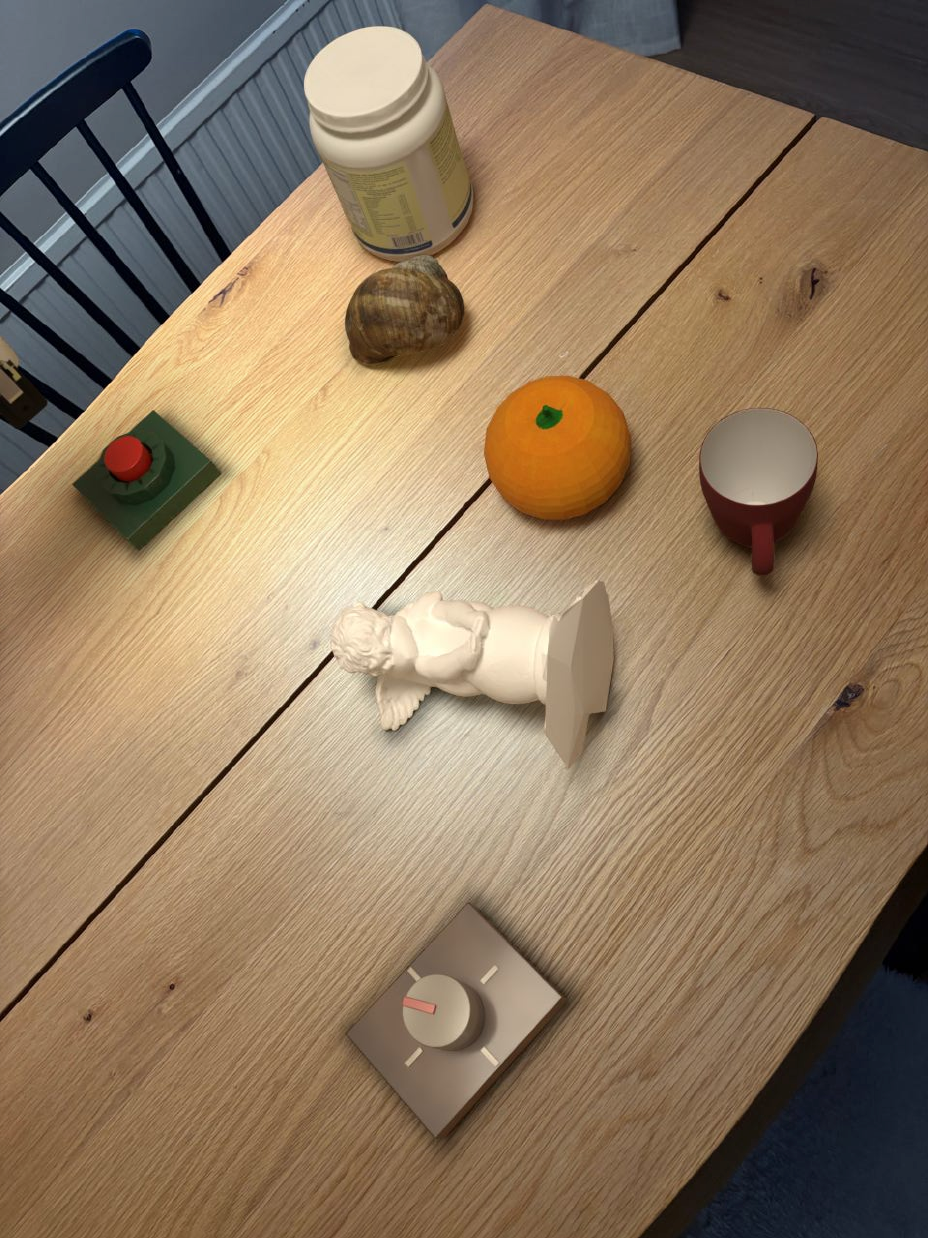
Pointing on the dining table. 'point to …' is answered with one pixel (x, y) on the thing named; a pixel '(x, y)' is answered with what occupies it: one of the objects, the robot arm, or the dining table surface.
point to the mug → (758, 478)
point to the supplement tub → (388, 143)
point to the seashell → (403, 311)
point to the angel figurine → (486, 657)
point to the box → (149, 482)
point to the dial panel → (511, 1022)
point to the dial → (443, 1012)
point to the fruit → (557, 447)
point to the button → (127, 459)
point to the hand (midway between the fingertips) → (28, 411)
